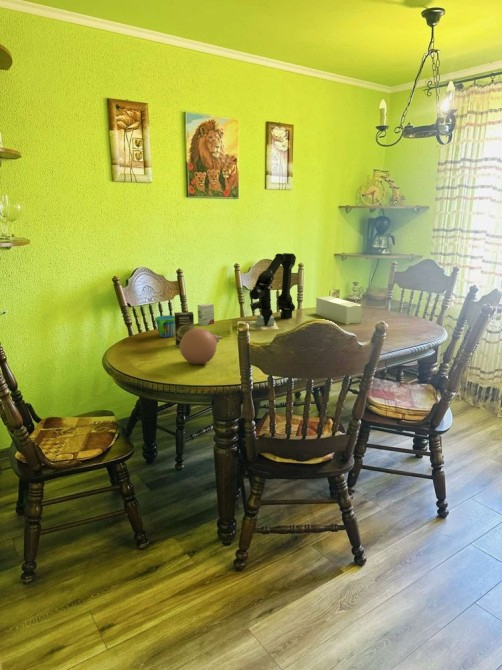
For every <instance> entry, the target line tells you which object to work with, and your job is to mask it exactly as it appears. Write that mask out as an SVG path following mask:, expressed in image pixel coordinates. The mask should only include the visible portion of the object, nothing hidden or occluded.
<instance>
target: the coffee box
mask: <svg viewBox="0 0 502 670" xmlns="http://www.w3.org/2000/svg"><path fill="white" fill-rule="evenodd" d="M173 316H174V317H175V328H174V335H175V336H174V337H175V338H174V341H175V348H180V342H181V339H182V337H183V336H184V334H185V333H186V332H188V331H189V330H191V329H195V321H194V318H195V317H194V312H193V311H187V312H186V311H183V312H182V311H180V312H174V315H173Z"/></svg>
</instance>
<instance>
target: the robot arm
mask: <svg viewBox="0 0 502 670" xmlns="http://www.w3.org/2000/svg"><path fill="white" fill-rule="evenodd" d="M296 258H297V257H296V255H295V254H294V253H287V252H283V253H279V252H278V253H276V254H275V255H274V258H273V260H272V261H271V262H270V264H269V266H268V267H267V268H266V270H264V271H262V272H261V273H260V274H258V277H257V279H256V282H255V284H254V286H253V289H251V290H250V292H249V296H250V298H251V299H252V300H257V301H254V302H252V303H250V304H249V306H250V309H251V311H255V310H257V309H258V311H259V313H260V316H263V318H264V324H265V326H267V324H268V321H269V319H270V317H271V316H273V313H274V312H273V310H272V309H271V308H272V307H271V301H272V299H271V289H273V285H272V283H273V281H274V280H275V276H274V275H275V274H276V272H277V271H278V270H279V268H280V267H282V280H281V281H282V282H281V293H280V295H278V296H277V302H276V303H277V308H278V310H279V311H280V312H279V314H280V315H279V318H280V319H285V320H289V319H293V312H294V311H295V309H296V306H295V304H294V302H293V297H292V295H291V284H292V272H293V271H292V270H293V268H294V266H295V265H296V260H297V259H296Z"/></svg>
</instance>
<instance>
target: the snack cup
mask: <svg viewBox="0 0 502 670" xmlns="http://www.w3.org/2000/svg"><path fill="white" fill-rule="evenodd" d="M154 320H155V322H156V323H155V324H156V327H157V331H158V336H159V338H164V339H165V338H172V337H173V336H174V335H175V317H174V315H169V314H167V315H159V316H158V315H157V316H156V317H155V319H154Z"/></svg>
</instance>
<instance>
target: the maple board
mask: <svg viewBox="0 0 502 670" xmlns="http://www.w3.org/2000/svg"><path fill="white" fill-rule="evenodd" d="M242 322H245V323H248V324H249V329H250V330H249V331H252V330H253V331H254V330H259V331H261V330H279V329H280V328H279V327H278V324H277V323H276V320H274V326H258V325H257V320H245V321H244V320H242V321H241V320H239V321H237V322H236V323H237V325H238V324H239V323H242Z"/></svg>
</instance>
